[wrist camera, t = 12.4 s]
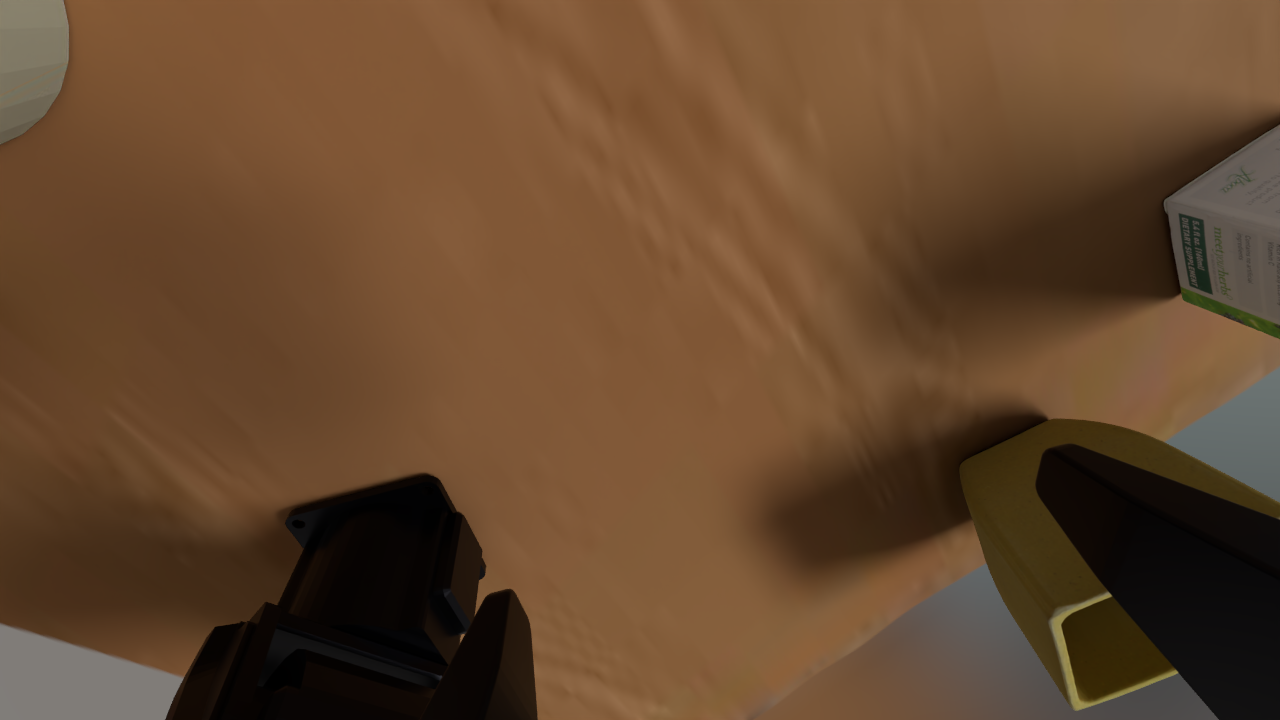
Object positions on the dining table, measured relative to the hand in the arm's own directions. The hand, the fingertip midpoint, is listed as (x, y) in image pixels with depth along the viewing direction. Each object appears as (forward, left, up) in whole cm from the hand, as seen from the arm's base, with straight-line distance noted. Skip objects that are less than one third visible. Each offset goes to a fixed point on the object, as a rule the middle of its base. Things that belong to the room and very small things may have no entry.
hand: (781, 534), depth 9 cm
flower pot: (+16, -16, -13) cm, 26 cm away
